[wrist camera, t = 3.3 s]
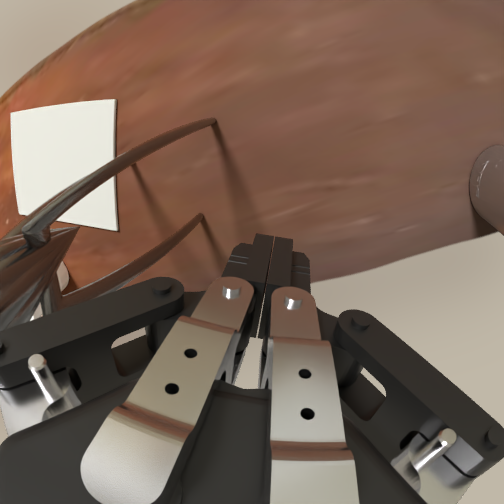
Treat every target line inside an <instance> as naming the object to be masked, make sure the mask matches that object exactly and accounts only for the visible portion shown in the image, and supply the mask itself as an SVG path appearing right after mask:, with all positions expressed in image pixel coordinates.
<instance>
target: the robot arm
mask: <svg viewBox="0 0 504 504" xmlns="http://www.w3.org/2000/svg"><path fill="white" fill-rule="evenodd" d="M470 197H471V201H472V204H473V207H474V208H475V210H476V212H477V213H478V214H479V215H480V216H481V217H482V218H483V219H484V220H486V221H487V222H488V223H489V224H491V225H492V226H493V227H494V228H495V229H497V230H498V231H499V232H500V233H501V234H502V235H504V146H501V145H496V146H492V147H489V148H487V149H486V150H485V151H484V152H482V153H481V155H480V156H479V157H478V158H477V160H476V162H475V164H474V166H473V169H472V172H471V177H470ZM273 239H274V236H269V235H263V234H256V236H255V239H254V242H253V245H251V244H245V243H241V244H239V245H238V246H236V247H235V248H234V249H233V251H232V254H231V256H230V258H229V261H228V263H227V265H226V267H225V270H224V272H223V274H222V277H221V278H218V279H216V280H214V281H213V282H212V283H211V284H210V286H209V287H208V289H207V290H206V291H201V292H184V286H183V285H182V284H181V282H179V281H178V280H176V279H173V278H169V277H156V278H152V279H149V280H146V281H143V282H140V283H137V284H135V285H132V286H129V287H126V288H123V289H120V290H117V291H114V292H111V293H108V294H106V295H103V296H100V297H97V298H94V299H91V300H88V301H85V302H83V303H80V304H77V305H74V306H71V307H68V308H65V309H62V310H60V311H57V312H54V313H51V314H48V315H45V316H42V317H40V318H37V319H34V320H31V321H28V322H25V323H23V324H20V325H17V326H14V327H11V328H8V329H6V330H3V331H0V408H1V412H2V416H3V420H4V423H5V427H6V430H7V434H8V438H7V439H6V440H5V441H3V443H2V444H1V445H0V504H457V503H458V501H459V500H460V499H461V498H462V496H463V495H464V493H465V492H466V491H467V489H468V488H469V486H470V485H471V484H472V482H473V481H474V480H475V479H476V478H477V477H479V476H480V475H482V474H483V473H484V472H485V471H487V470H488V469H490V468H491V467H492V466H494V465H495V464H496V463H497V462H499V461H500V460H501V459H502V458H503V457H504V428H503V427H502V426H501V425H500V424H499V423H498V422H497V421H495V420H494V419H493V418H492V417H491V416H490V415H489V414H488V413H486V412H485V411H484V410H483V409H482V408H481V407H480V406H479V405H477V404H476V403H475V402H474V401H473V400H471V398H470V397H468V396H467V395H466V394H465V393H464V392H463V391H461V390H460V389H459V388H458V387H457V386H456V385H455V384H453V383H452V382H451V381H450V380H449V379H448V378H446V377H445V376H444V375H443V374H442V373H441V372H439V371H438V370H437V369H436V368H435V367H433V366H432V365H431V364H430V363H428V361H426V360H425V359H424V358H423V357H422V356H420V355H419V354H418V353H417V352H416V351H414V350H413V349H412V348H411V347H410V346H408V345H407V344H406V343H405V342H404V341H402V340H401V339H400V338H399V337H397V336H396V335H395V334H394V333H393V332H392V331H390V330H389V329H388V328H387V327H385V326H384V325H383V324H382V323H381V322H379V321H378V320H377V319H376V318H374V317H373V316H372V315H370V314H368V313H366V312H364V311H360V310H346V311H344V312H342V313H341V314H340V315H339V318H337V317H335V316H332V315H329V314H327V313H325V312H323V311H321V310H320V309H318V308H317V307H316V303H315V300H314V298H313V296H312V295H311V291H310V290H311V289H310V269H309V268H310V264H309V259H308V258H307V257H306V255H305V254H304V253H300V252H294V251H292V249H293V239H287V238H281V237H275V242H274V248H273V253H272V259H271V264H270V258H271V252H272V246H273ZM269 264H270V270H269ZM268 271H269V275H268ZM267 277H268V281H267ZM266 282H267V286H266ZM265 288H266V292H265ZM264 293H265V298H264ZM263 298H264V305H263V311H262V317H261V322H260V329H259V334H258V338H260V339H263V345H262V349H261V355H260V366H259V380H258V389H242V388H239V387H236V386H234V384H235V381H236V378H237V375H238V373H239V369H240V367H241V364H242V361H243V358H244V355H245V350H246V347H247V345H248V343H249V338H250V337H254V338H256V334H257V329H258V324H259V319H260V314H261V308H262V303H263ZM143 327H145V330H146V335H144V336H141V337H139V338H136V339H134V340H132V341H129V342H127V343H124V344H122V345H119V346H117V347H115V348H112V349H111V346H112V344H113V342H114V341H115V340H116V339H117V338H119V337H121V336H124V335H126V334H129V333H131V332H134V331H136V330H139V329H141V328H143ZM363 367H364V368H365V369H366V370H367V371H368V372H369V373H370V374H371V375H372V376H374V377H375V378H376V379H377V380H378V381H379V382H380V383H381V384H382V385H383V387H384V388H385V391H386V397H385V396H384V395H383V394H382V393H381V392H380V391H379V390H378V389H377V388H376V387H375V386H374V385H373V384H372V383H371V382H370V381H368V380H367V379H366V378H365V377H364V376H363V375H362V374H361V373H360V372H361V371H362V369H363Z"/></svg>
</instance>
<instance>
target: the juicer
mask: <svg viewBox="0 0 504 504" xmlns="http://www.w3.org/2000/svg"><path fill="white" fill-rule="evenodd" d="M215 122H216V119H215V118H207V119H203V120H199V121H195V122H192V123H189V124H185V125H183V126H180V127H177V128H174V129H172V130H169V131H167V132H165V133H162V134H160V135H158V136H156V137H154V138H152V139H150V140H148V141H146V142H144V143H142V144H140V145H138V146H136V147H134V148H132V149H130V150H129V151H127V152H125V153H123V154H121V155H120V156H118V157H116V158H115V159H113V160H111V161H110V162H108V163H106V164H105V165H103V166H102V167H100V168H98V169H97V170H95V171H94V172H92V173H90V174H88V175H87V176H85V177H83V178H81V179H79V180H78V181H76V182H74V183H73V184H71V185H69V186H68V187H66V188H65V189H63V190H62V191H60V192H59V193H57V194H56V195H54V196H53V197H51V198H50V199H48V200H47V201H46V202H44V203H43V204H42V205H40V206H39V207H38V208H36V209H35V210H34V211H32V212H31V213H30V214H29V215H27V216H26V217H25V218H24V219H23V220H21V221H20V222H19V223H18V224H17V225H16V226H14V227H13V228H12V229H11V230H10V231H9V232H8V233H7V234H6V235H4V236H3V237H2V238H1V239H0V331H3V330H6V329H8V328H11V327H14V326H17V325H20V324H23V323H25V322H28V321H30V320H31V318H32V316H33V315H34V313H35V311H36V309H37V307H38V305H39V304H41V309H42V314H43V316H45V315H48V314H51V313H54V312H57V311H60V310H62V309H65V308H68V307H71V306H74V305H77V304H80V303H83V302H85V301H88V300H91V299H94V298H97V297H100V296H103V295H106V294H108V293H111V292H114V291H116V290H118V289H120V288H121V287H123V286H124V285H125V284H127V283H128V282H130V281H131V280H133V279H134V278H136V277H137V276H138V275H140V274H141V273H143V272H144V271H145V270H147V269H148V268H149V267H151V266H152V265H153V264H155V263H156V262H157V261H158V260H160V259H161V258H162V257H163V256H165V255H166V254H167V253H168V252H169V251H170V250H172V249H173V248H174V247H175V246H176V245H177V244H178V243H179V242H181V241H182V240H183V239H184V238H185V237H186V236H187V235H188V234H189V233H190V232H191V231H192V230H193V229H194V228H195V227H196V226H197V225H198V223H199V222H200V221H201V220H202V219H203V214H201V213H199V214H197V215H196V216H195V217H194V218H193V219H192V220H191V221H189V222H188V223H187V224H186V225H185V226H183V227H182V228H181V229H179V230H178V231H177V232H176V233H174V234H173V235H172V236H170V237H169V238H168V239H166V240H165V241H163V242H162V243H160V244H159V245H158V246H156V247H155V248H153V249H152V250H150V251H149V252H147V253H145V254H144V255H142V256H141V257H139V258H137V259H136V260H134V261H132V262H131V263H129V264H127V265H125V266H123V267H122V268H120V269H118V270H116V271H114V272H112V273H111V274H109V275H107V276H105V277H103V278H101V279H99V280H97V281H95V282H93V283H91V284H89V285H86V286H84V287H82V288H80V289H78V290H75V291H73V292H71V293H69V294H66V295H62V293H61V289H60V284H59V280H58V275H57V270H58V268H59V266H60V264H61V263H62V261H63V259H64V257H65V255H66V253H67V251H68V249H69V247H70V245H71V243H72V241H73V240H74V238H75V236H76V234H77V232H78V230H79V228H80V227H68V228H58V229H51V230H50V225H51V224H52V223H54V222H55V221H56V220H57V219H58V218H59V217H60V216H62V215H63V214H64V213H65V212H66V211H68V210H69V209H70V208H71V207H72V206H74V205H75V204H76V203H77V202H79V201H80V200H81V199H83V198H84V197H85V196H87V195H88V194H89V193H91V192H92V191H93V190H95V189H96V188H97V187H99V186H100V185H102V184H103V183H105V182H106V181H107V180H109V179H110V178H112V177H113V176H115V175H116V174H118V173H120V172H121V171H123V170H124V169H126V168H128V167H129V166H131V165H132V164H134V163H136V162H137V161H139V160H141V159H143V158H144V157H146V156H148V155H150V154H151V153H153V152H155V151H157V150H159V149H161V148H163V147H165V146H166V145H168V144H170V143H172V142H174V141H176V140H178V139H181V138H183V137H185V136H187V135H189V134H191V133H193V132H196V131H198V130H200V129H203V128H205V127H208V126H210V125H213V124H215Z"/></svg>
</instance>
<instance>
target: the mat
mask: <svg viewBox="0 0 504 504" xmlns="http://www.w3.org/2000/svg"><path fill="white" fill-rule="evenodd" d="M116 101H117V99H112V100H98V101H87V102H77V103H68V104H61V105H53V106H47V107H40V108H34V109H29V110H23V111H18V112H13V113H11V144H12V160H13V171H14V181H15V189H16V197H17V203H18V210H19V214H22V215H29V214H30V213H31V212H32V211H34V210H35V209H36V208H38V207H39V206H40V205H42V204H43V203H44V202H46V201H47V200H48V199H50V198H51V197H53V196H54V195H56V194H57V193H59V192H60V191H62V190H63V189H65V188H66V187H68V186H69V185H71V184H73V183H74V182H76V181H78V180H79V179H81V178H83V177H85V176H87V175H88V174H90V173H92V172H94V171H95V170H97V169H98V168H100V167H102V166H103V165H105V164H106V163H108V162H110V161H111V160H113V159H115V126H116ZM56 221H62V222H68V223H74V224H80V225H85V226H91V227H97V228H103V229H109V230H115V231H117V230H118V218H117V201H116V176H113V177H112V178H110V179H109V180H107V181H106V182H105V183H103V184H102V185H100V186H99V187H97V188H96V189H95V190H93V191H92V192H91V193H89V194H88V195H87V196H85V197H84V198H83V199H81V200H80V201H79V202H77V203H76V204H75V205H74V206H72V207H71V208H70V209H69V210H68V211H66V212H65V213H64V214H63V215H62V216H60V217H59V218H58V219H57V220H56Z"/></svg>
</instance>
